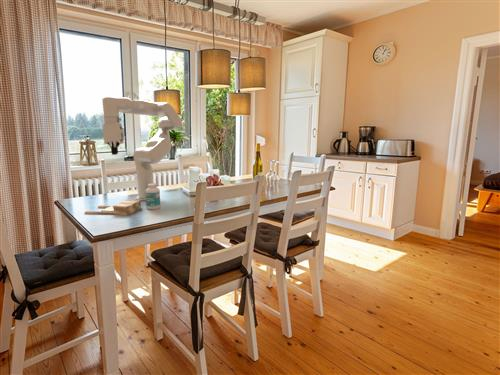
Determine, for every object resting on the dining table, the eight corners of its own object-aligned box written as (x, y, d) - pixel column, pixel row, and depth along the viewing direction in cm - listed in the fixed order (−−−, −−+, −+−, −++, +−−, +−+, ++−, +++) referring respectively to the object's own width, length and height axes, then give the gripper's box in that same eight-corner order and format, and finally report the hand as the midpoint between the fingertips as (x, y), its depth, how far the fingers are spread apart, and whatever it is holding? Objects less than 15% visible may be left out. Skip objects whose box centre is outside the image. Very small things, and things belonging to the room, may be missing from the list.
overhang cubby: (100, 207, 172) (99, 199, 171) (141, 208, 170) (140, 200, 169) (84, 214, 158) (83, 205, 157) (128, 215, 156) (128, 206, 155)
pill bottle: (143, 209, 167) (141, 184, 165) (152, 206, 174) (150, 182, 171) (154, 210, 165) (153, 185, 162) (163, 207, 171) (162, 183, 169)
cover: (110, 209, 168) (110, 206, 168) (136, 210, 167) (136, 206, 166) (101, 214, 160) (100, 210, 159) (128, 215, 158) (128, 211, 158)
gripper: (128, 120, 169) (131, 153, 173) (102, 120, 171) (105, 153, 174) (121, 120, 162) (124, 155, 165) (94, 120, 163) (98, 155, 167)
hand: (114, 154), depth 170 cm, fingers closed
